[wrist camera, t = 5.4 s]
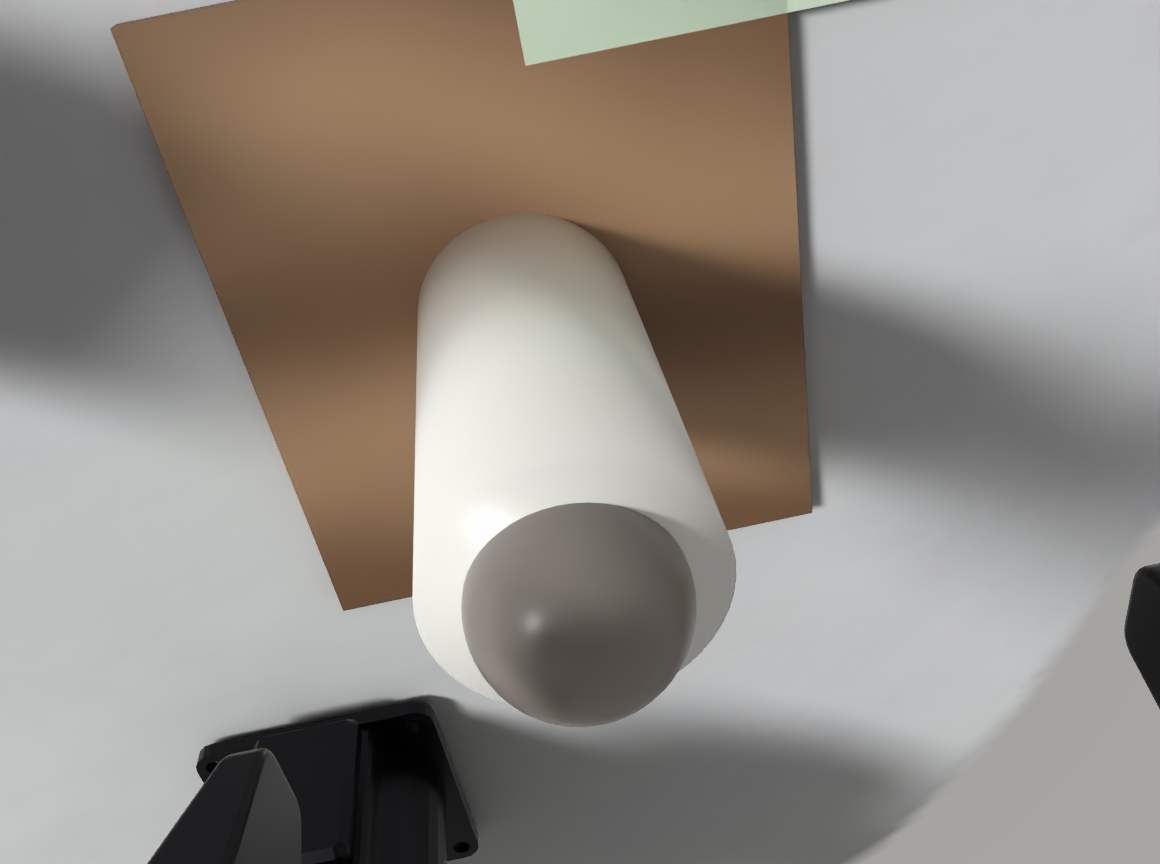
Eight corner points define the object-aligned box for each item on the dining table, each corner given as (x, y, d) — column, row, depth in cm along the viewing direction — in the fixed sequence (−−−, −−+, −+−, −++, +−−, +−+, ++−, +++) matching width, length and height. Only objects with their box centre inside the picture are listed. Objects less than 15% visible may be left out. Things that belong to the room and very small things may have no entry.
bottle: (642, 382, 23) (782, 770, 14) (445, 423, 23) (458, 840, 14) (612, 192, 20) (759, 512, 11) (392, 238, 20) (364, 597, 11)
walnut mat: (807, 503, 26) (812, 512, 26) (344, 600, 26) (343, 610, 25) (775, -109, 18) (782, -107, 18) (116, 24, 18) (109, 29, 18)
